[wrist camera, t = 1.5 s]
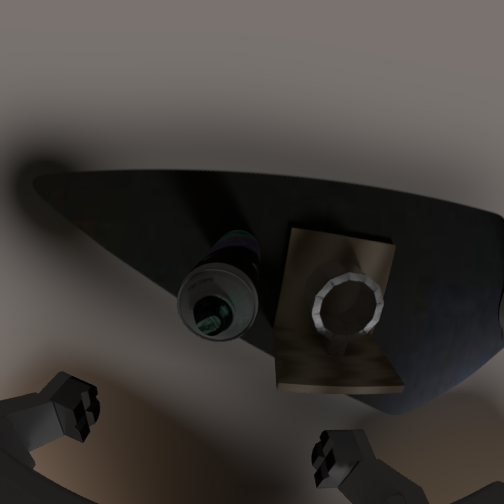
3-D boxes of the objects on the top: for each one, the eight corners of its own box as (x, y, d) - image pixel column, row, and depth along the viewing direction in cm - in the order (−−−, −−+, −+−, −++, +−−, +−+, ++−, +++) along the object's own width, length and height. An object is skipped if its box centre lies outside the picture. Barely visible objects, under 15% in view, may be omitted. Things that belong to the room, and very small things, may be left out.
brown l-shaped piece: (392, 244, 34) (447, 269, 22) (367, 338, 37) (401, 392, 25) (291, 226, 34) (307, 247, 22) (272, 329, 37) (276, 390, 25)
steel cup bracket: (371, 264, 34) (390, 278, 28) (352, 334, 36) (366, 357, 30) (311, 255, 34) (321, 268, 28) (296, 329, 36) (301, 353, 30)
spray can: (267, 241, 35) (273, 304, 15) (248, 279, 36) (233, 375, 16) (227, 222, 35) (182, 262, 15) (209, 261, 36) (153, 339, 16)
